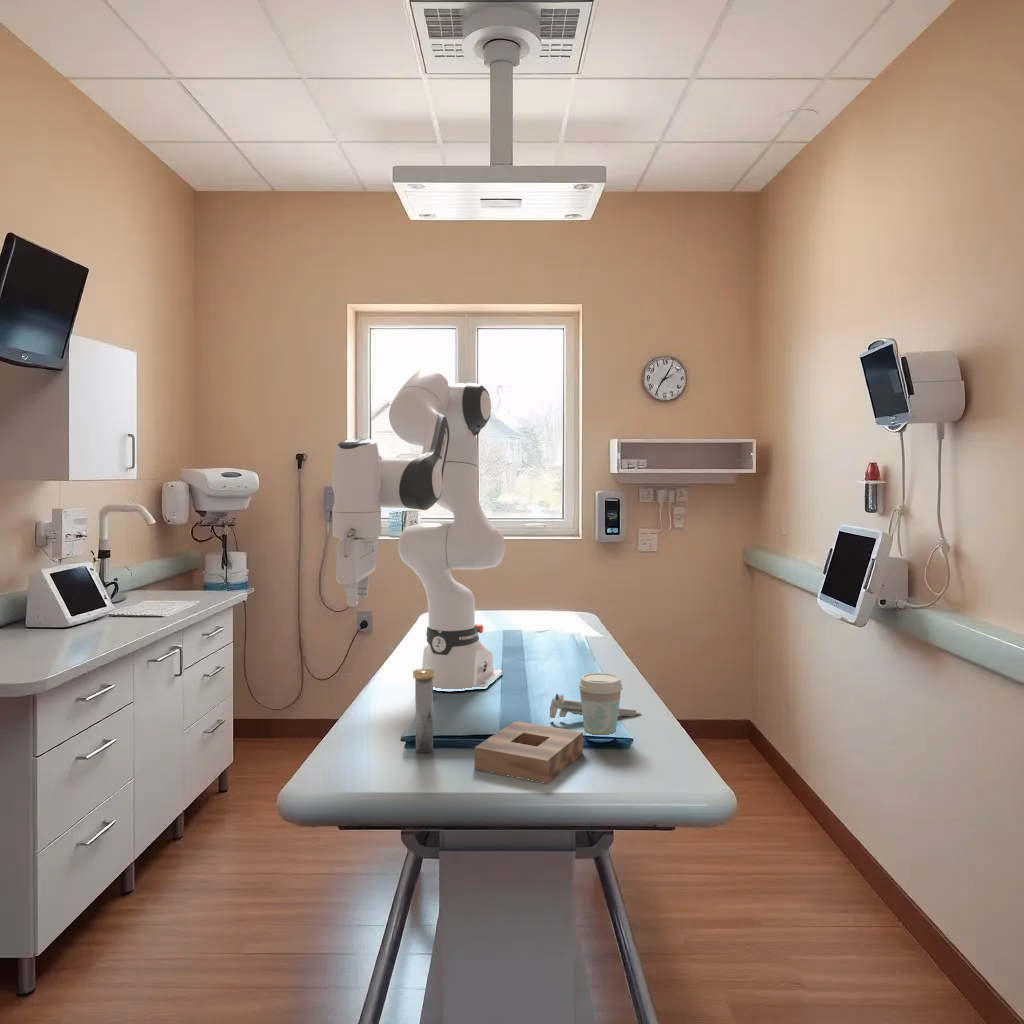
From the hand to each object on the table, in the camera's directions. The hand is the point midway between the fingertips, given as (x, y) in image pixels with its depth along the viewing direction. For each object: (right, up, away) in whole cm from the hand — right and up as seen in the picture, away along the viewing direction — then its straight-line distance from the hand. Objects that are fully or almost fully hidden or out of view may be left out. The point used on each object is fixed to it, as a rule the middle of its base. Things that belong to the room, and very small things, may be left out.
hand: (357, 601), depth 151 cm
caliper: (+46, -27, +20) cm, 57 cm away
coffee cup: (+46, -28, +8) cm, 54 cm away
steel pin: (+12, -28, +2) cm, 31 cm away
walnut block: (+32, -28, -4) cm, 43 cm away
